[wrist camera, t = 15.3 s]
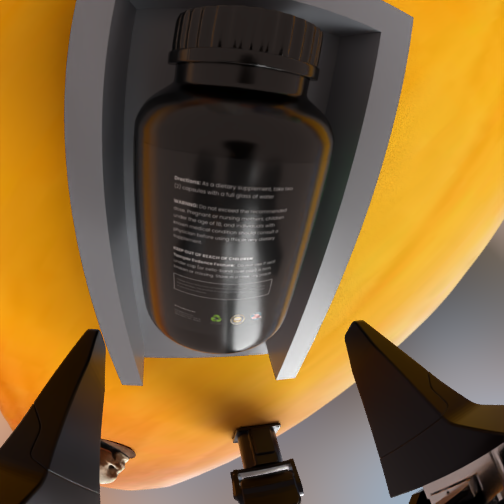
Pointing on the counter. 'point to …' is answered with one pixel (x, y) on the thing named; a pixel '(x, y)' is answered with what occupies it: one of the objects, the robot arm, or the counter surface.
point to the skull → (112, 460)
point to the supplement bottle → (229, 176)
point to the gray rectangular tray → (121, 156)
